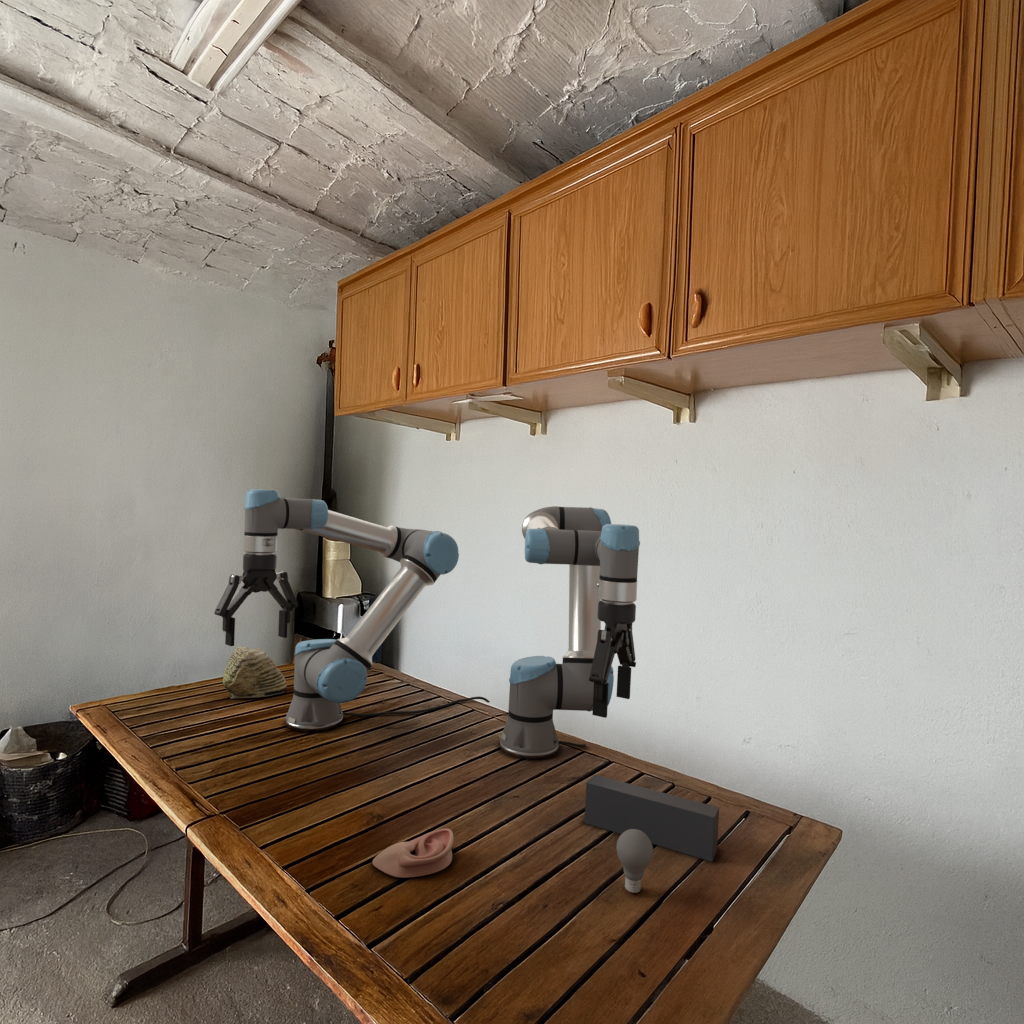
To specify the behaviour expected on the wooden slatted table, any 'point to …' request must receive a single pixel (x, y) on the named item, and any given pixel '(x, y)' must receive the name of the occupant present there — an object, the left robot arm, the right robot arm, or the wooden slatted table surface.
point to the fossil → (252, 674)
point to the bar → (653, 816)
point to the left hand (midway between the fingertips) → (257, 641)
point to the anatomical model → (417, 855)
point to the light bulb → (634, 857)
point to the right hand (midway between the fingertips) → (611, 706)
